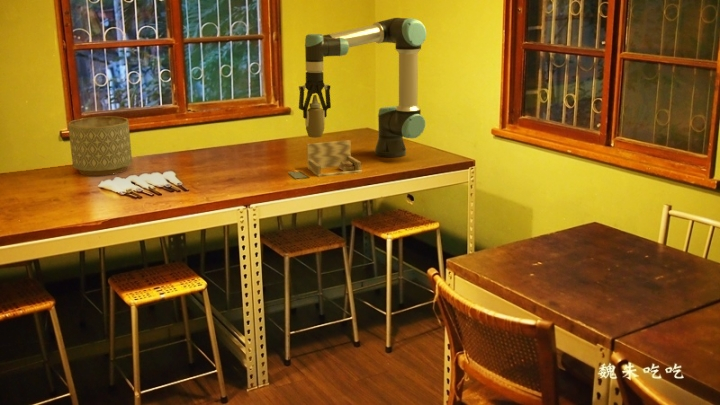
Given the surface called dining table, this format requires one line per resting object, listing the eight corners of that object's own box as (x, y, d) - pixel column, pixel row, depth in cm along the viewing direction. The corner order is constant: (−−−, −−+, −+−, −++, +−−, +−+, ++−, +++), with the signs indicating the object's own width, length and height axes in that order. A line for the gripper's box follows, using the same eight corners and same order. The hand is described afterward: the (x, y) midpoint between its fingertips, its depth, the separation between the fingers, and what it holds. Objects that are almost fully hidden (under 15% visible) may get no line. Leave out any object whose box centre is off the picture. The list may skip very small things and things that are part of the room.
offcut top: (349, 164, 355) (349, 161, 355) (352, 166, 351) (352, 163, 350) (340, 164, 354) (340, 161, 354) (343, 167, 350) (343, 164, 349)
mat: (308, 171, 353) (308, 170, 353) (316, 177, 343) (316, 176, 343) (288, 173, 350) (288, 172, 349) (295, 179, 340) (295, 178, 340)
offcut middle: (349, 167, 356) (349, 164, 356) (354, 170, 351) (354, 166, 351) (338, 168, 354) (338, 165, 354) (343, 171, 349) (343, 167, 349)
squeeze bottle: (322, 138, 339) (321, 96, 334) (303, 138, 340) (303, 96, 336) (326, 135, 347) (326, 94, 342) (308, 134, 348) (308, 93, 343)
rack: (349, 166, 362) (349, 140, 359) (362, 174, 348) (362, 147, 344) (307, 170, 355) (307, 143, 352) (319, 178, 341) (318, 151, 337)
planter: (63, 170, 357) (57, 122, 351) (113, 161, 375) (109, 114, 368) (91, 180, 340) (86, 129, 334) (143, 169, 358) (139, 120, 352)
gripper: (333, 69, 343) (333, 122, 349) (289, 71, 336) (291, 125, 342) (339, 71, 336) (339, 125, 342) (295, 73, 329) (296, 128, 335)
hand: (315, 125), depth 342 cm, fingers closed on squeeze bottle, 6 cm apart
